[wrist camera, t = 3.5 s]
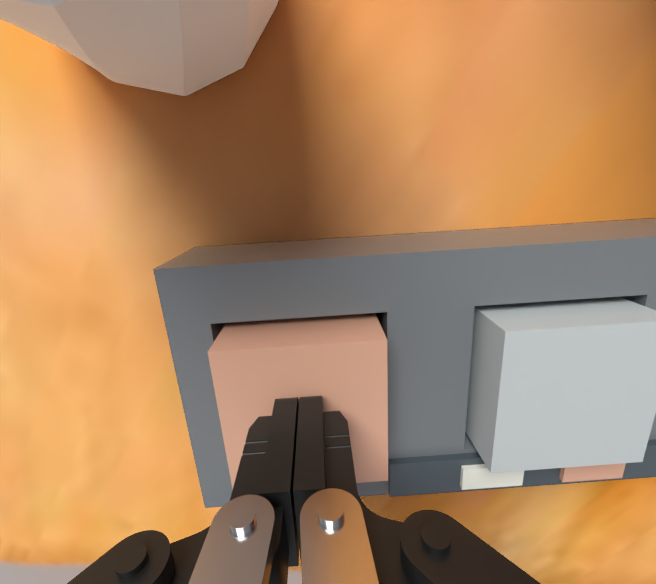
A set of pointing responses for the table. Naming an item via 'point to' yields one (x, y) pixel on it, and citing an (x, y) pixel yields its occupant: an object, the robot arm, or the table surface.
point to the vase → (149, 37)
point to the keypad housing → (402, 329)
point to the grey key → (562, 383)
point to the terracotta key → (305, 379)
